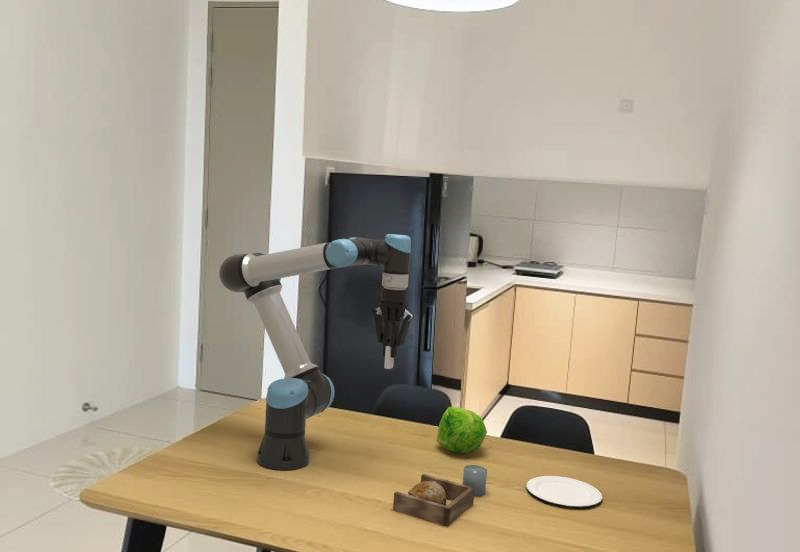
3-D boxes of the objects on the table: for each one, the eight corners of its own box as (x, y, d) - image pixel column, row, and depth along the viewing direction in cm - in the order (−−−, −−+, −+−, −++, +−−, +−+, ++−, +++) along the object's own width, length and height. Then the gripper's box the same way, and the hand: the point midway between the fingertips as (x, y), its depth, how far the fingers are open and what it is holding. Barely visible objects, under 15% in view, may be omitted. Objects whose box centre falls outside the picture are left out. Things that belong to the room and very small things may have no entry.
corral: (392, 509, 182) (394, 492, 181) (422, 489, 196) (423, 473, 195) (447, 526, 174) (448, 508, 174) (473, 504, 189) (474, 487, 188)
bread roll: (437, 528, 181) (453, 502, 181) (402, 507, 182) (418, 481, 181) (438, 511, 191) (453, 486, 190) (404, 492, 191) (419, 467, 191)
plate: (604, 489, 207) (604, 484, 207) (599, 517, 187) (600, 511, 187) (531, 475, 214) (532, 470, 213) (520, 501, 194) (520, 495, 194)
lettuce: (469, 440, 242) (484, 404, 239) (479, 470, 223) (495, 432, 220) (429, 427, 240) (443, 392, 237) (434, 457, 221) (450, 419, 218)
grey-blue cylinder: (458, 492, 196) (460, 469, 195) (467, 485, 201) (469, 463, 201) (479, 498, 193) (481, 475, 192) (488, 491, 198) (490, 468, 198)
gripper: (368, 286, 207) (363, 366, 209) (408, 291, 201) (402, 374, 203) (381, 284, 213) (376, 362, 216) (420, 289, 207) (414, 369, 209)
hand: (388, 367), depth 209 cm, fingers closed
